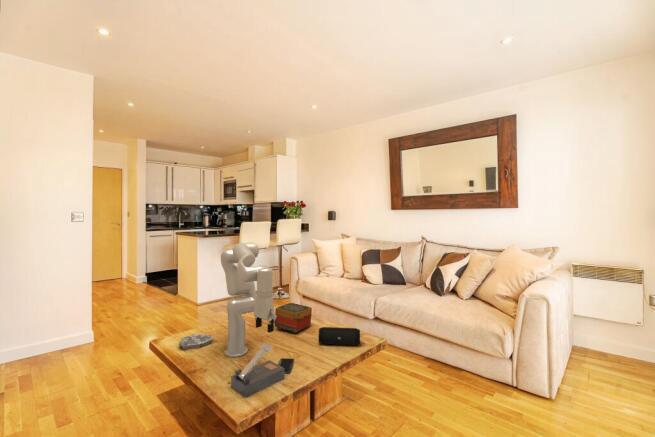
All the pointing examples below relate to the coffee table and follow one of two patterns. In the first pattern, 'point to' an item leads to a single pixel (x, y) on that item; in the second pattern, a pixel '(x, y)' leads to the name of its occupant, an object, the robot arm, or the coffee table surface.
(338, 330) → the portable speaker
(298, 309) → the decorative box
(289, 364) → the phone
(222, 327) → the coffee table surface
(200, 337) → the brain slice
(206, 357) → the coffee table surface
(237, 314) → the robot arm
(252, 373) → the base block
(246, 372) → the latch bar
